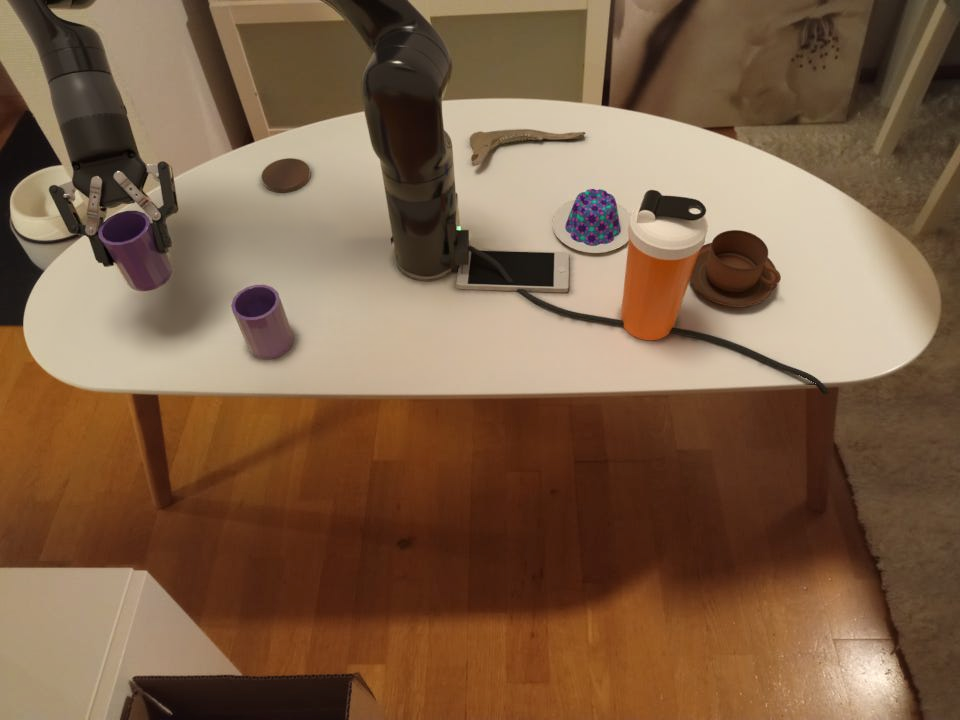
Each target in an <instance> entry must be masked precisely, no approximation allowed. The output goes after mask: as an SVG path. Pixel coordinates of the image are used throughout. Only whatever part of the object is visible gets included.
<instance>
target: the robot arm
mask: <svg viewBox="0 0 960 720" xmlns="http://www.w3.org/2000/svg"><path fill="white" fill-rule="evenodd" d="M6 1H7V3H8V4H9V6H10V8H11V10H13V12H14V14H15V15H16V17H17V18H18V19H19V21H20V23H21V24H22V26H23V28H24V29H25V31H26V33H27V35H28V36H29V38H30V40H31V42H32V43H33V46H34V48H35V50H36V52H37V55H38V58H39V61H40V63H41V67H42V71H43V73H44V76H45V79H46V82H47V83H46V84H47V86H48V90H49V94H50V100H51V104H52V108H53V109H52V110H53V112H54V115H55V119H56V121H57V124H58V127H59V131H60V134H61V137H62V140H63V143H64V146H65V149H66V152H67V156H68V158H69V162H70V165H71V167H72V177H71V181H68V182H65V183H62V184H60V185H57V184H52V185H49V187H48V192H49V194H50V197H51V198H52V200H53V203H54V204H55V206H56V209H57V211H58V212H59V215H60V217H61V219H62V221H63V223H64V226H65V227H66V229H67V231H68V232H69V234H72V235H78V236H85V237H86V238H87V239H88V240H89V243H90V247H91V249H92V253H93V255H94V259H95V260H96V262H97V264H102V266H103V267H105V268H109V267H114V266H115V264H114V262H113V260H112V259H111V257H110V255H109V254H108V252H107V250H106V249H105V247H104V245H103V244H102V242H101V240H100V239H99V233H98V231H99V229H100V227H101V225H102V223H103V222H105V221H106V220H105V219H107V214H108V209H109V210H110V209H114V208H117V207H119V206H121V205H131V204H137V205H138V206H139V207H140V208H141V209H142V210H143V211H144V213H145V214H146V215H147V216H148V217H149V218H150V220H151V226H152V229H153V233H154V236H155V239H156V242H157V246H158V249H159V252H160V253H161V254H165V253H167V254H169V253H170V250H169V248H172V247H173V246H172V245H173V241H172V238H171V234H170V231H169V228H168V224H167V219H168V218H169V217H171V216H172V215H174V214H175V215H176V214H177V213H178V212H179V203H178V196H177V191H176V184H175V177H174V170H173V167H172V165H170V164H169V163H168V162H166V161H163V160H161V161H159V162H158V163H150V164H146V162H144V160H143V158H141V155H140V152H139V149H138V145H137V142H136V139H135V136H134V133H133V130H132V126H131V123H130V120H129V117H128V110H127V107H126V105H125V103H124V100H123V97H122V95H121V91H120V90H119V88H118V86H117V84H116V81H115V78H114V76H113V73H112V70H111V66H110V63H109V60H108V56H107V54H106V53H107V52H106V49H105V47H104V44H103V43H104V42H103V41H102V38H101V36H100V34H99V32H98V31H96V29H95V28H93V27H91V26H88V25H86V24H82V23H79V22H73V21H69V20H66V19H64V18H62V17H59V16H58V15H56V14H55V12H54V11H81V10H82V11H83V10H87V9H89V8H90V7H92V6H93V5H94V4H95V3H96V2H97V0H6ZM319 1H321V2H322V3H324V4H325V5H327V6H328V7H330V8H331V9H333V11H335V12H336V13H337V14H338V15H339V16H340V17H341V18H342V19H343V20H344V21H345V22H346V23H347V24H348V25H349V26H350V28H351V29H352V30H353V31H354V33H355V34H356V35H357V36H358V37H359V39H360V40H361V41H362V42H363V44H364V45H365V47H366V48H367V49H368V51H369V52H370V54H371V56H370V58H369V61H368V62H367V65H366V67H365V69H364V71H363V72H362V73H363V74H362V76H361V81H360V88H361V89H360V93H361V103H362V108H363V112H364V117H365V121H366V122H365V123H366V127H367V131H368V135H369V140H370V144H371V147H372V150H373V152H374V154H375V156H377V158H378V159H379V164H380V168H381V169H380V170H381V174H382V181H383V187H384V193H385V200H386V204H387V212H388V218H389V223H390V230H391V237H390V245H391V246H393V247H394V257H395V263H396V266H397V268H398V269H399V271H400V272H401V273H402V274H403V275H405V276H407V277H408V278H410V279H413V280H417V281H425V282H426V281H436V280H440V279H442V278H445V277H447V276H448V275H451V274H452V273H453V274H454V273H458V269H459V265H468V262H469V251H470V252H472V253H474V254H476V255H477V256H479V257H481V258H483V259H485V260H486V261H488V262H489V263H491V264H492V265H493V266H495V267H496V268H497V269H498V271H499V272H500V273H501V275H502V276H503V278H504V279H505V280H506V281H509V282H512V281H513V280H512V279H511V278H510V277H509V275H508V274H507V272H506V271H505V269H504V268H503V267H502V266H501V265H500V264H499V263H498V262H497V261H496V260H495V259H493V258H492V257H490V256H489V255H487V254H485V253H483V252H482V251H480V250H478V248H476V247H474V246H472V245H470V232H469V229H461V225H460V223H461V222H460V209H459V195H458V193H457V192H456V191H457V190H456V178H455V163H454V151H453V142H452V139H451V136H450V135H449V133H448V132H447V131H446V130H445V127H444V118H443V117H444V116H443V100H444V97H445V95H446V92H447V89H448V87H449V84H450V81H451V77H452V74H453V58H452V56H451V52H450V51H451V50H450V49H449V47H448V45H447V43H446V41H445V40H444V38H443V37H442V36H441V35H440V33H439V32H438V31H437V29H436V28H435V27H434V26H433V25H432V24H431V23H430V21H428V20H427V19H426V17H425V16H424V15H423V14H422V13H421V12H420V11H419V10H418V9H417V8H416V7H415V6H414V5H413V4H412V3H411V1H409V0H319ZM149 174H150V175H152V177H153V179H154V181H156V182H158V183H159V185H160V191H161V197H162V198H161V199H162V204H163V205H161V206H160V207H158V206H157V204H156V203H155V202H154V201H153V200H152V198H151V197H150V196H149V195H148V194H147V193H146V192H145V191H144V187H145V184H146V182H147V179H148V177H149ZM76 191H78V192H80V193H81V194H82V195H84V196H85V197H86V198H88V202H87V208H86V216H87V217H86V222H85V224H84V223H83V221H82V220H81V217H80V215H79V212H78V211H77V209H76V207H75V205H74V202H75V200H76ZM516 292H517V293H519V294H520V295H521V296H522V297H524V298H526V299H527V300H529V301H531V302H532V303H534V304H535V305H538V306H540V307H543V308H545V309H547V310H550V311H551V312H555V313H557V314H561V315H563V316H567V317H570V318H574V319H575V318H576V319H581V320H585V321H592V322H598V323H604V324H609V325H615V326H622V327H623V326H624V323H623V320H621V319H618V318H611V317H605V316H599V315H595V314H588V313H581V312H576V311H572V310H568V309H565V308H562V307H560V306H556V305H554V304H552V303H549V302H546V301H545V300H543V299H541V298H538V297H536V296H534V295H533V294H532V293H529V291H525V290H523V289H517V291H516ZM670 333H671V334H676V335H682V336H687V337H692V338H697V339H701V340H706V341H709V342H712V343H715V344H719V345H722V346H725V347H728V348H730V349H733V350H736V351H739V352H740V353H743V354H745V355H748V356H749V357H752V358H755V359H756V360H758V361H761V362H763V363H766V364H767V365H770V366H772V367H774V368H776V369H779V370H781V371H784V372H786V373H790V374H793V375H795V376H797V377H801V376H802V377H801V378H803V379H805V378H807V379H808V380H807V379H806V380H807V381H809V380H810V381H809V382H811V381H812V382H811V383H812V384H813V385H815V386H816V388H818V390H819V391H820V392H821V393H822V394H823V395H829V394H830V390H829V389H828V388H827V387H826V385H825V384H824V383H823V382H822V381H821V380H819V379H818V378H817V377H815V376H814V375H812V374H810V373H808V372H806V371H803V370H801V369H798V368H795V367H792V366H790V365H787V364H784V363H781V362H779V361H777V360H774V359H773V358H770V357H768V356H766V355H764V354H761V353H759V352H757V351H755V350H753V349H751V348H748V347H747V346H746V347H745V346H744V345H741V344H738V343H735V342H733V341H731V340H727V339H724V338H721V337H718V336H714V335H711V334H709V333H708V334H707V333H704V332H700V331H696V330H695V331H694V330H690V329H685V328H680V327H675V326H674V327H672V329H671V330H670ZM799 375H800V376H799ZM813 382H814V383H813ZM821 382H822V383H821ZM815 383H816V384H815Z"/></svg>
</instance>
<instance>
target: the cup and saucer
mask: <svg viewBox="0 0 960 720" xmlns="http://www.w3.org/2000/svg"><path fill="white" fill-rule="evenodd" d="M781 278H782V276H781V272H779V270H777V268H776V265H775V264H774V262H773V261H772V260H771V259H770V258H769V248H768V246H767V244H766V243H765V241H764V240H763V239H761V238H760V237H759V236H757V235H755V234H754V233H751V232H749V231H745V230H740V229H732V230H731V229H730V230H725V231H722V232H720V233H718V234H717V235H716V236H715V237H714V238H713V239H712V241H711V242H708V243H706V244H704V245H703V247H702V248H701V249H700V250H699V253H698V256H697V259H696V262H695V265H694V268H693V271H692V274H691V277H690V280H689V283H690V284H691V285H692V286H693V288H694V289H695V290H696V291H697V293H699V294H701V296H703V297H704V298H706V299H708V300H710V301H712V302H714V303H717V304H720V305H723V306H728V307H748V306H754V305H757V304H759V303H761V302H763V301H765V300H766V299H768V298H769V297H770V296H772V294H773V293H774V291H775V290H776V288H777V286H778V285H779V283H780V282H781V280H782V279H781Z"/></svg>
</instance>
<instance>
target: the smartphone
mask: <svg viewBox="0 0 960 720" xmlns="http://www.w3.org/2000/svg"><path fill="white" fill-rule="evenodd" d="M477 249H478V248H477ZM478 250H480V251H482V252H483V253H485V254H487V255H489V256H490V257H492V258H493V259H495V260H496V261H497V262H498V263H499V264H500V265H501V266H502V267H503V268H504V269H505V271H506V272H507V274H508V275H509V277H510V278H511V279H512V280H513V281H512V282H509V281H506V280H505V279H504V278H503V276H502V275H501V273H500V272H499V271H498V269H497V268H496V267H495V266H493V265H492V264H491V263H489V262H488V261H486V260H485V259H483V258H481V257H479V256H477V255H476V254H474V253H472V252H470V251H469V262H468V265H459V269H458V272H457V276H456V288H457V289H459V290H478V291H507V292H518V291H517V289H523V290H525V291H527V292H533V293H534V292H536V293H560V294H561V293H562V294H563V293H568V292H569V265H570V264H569V263H570V262H569V260H570V259H569V258H570V253H569V252H567V251H546V250H545V251H542V250H514V249H513V250H510V249H478Z"/></svg>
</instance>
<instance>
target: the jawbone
mask: <svg viewBox="0 0 960 720" xmlns="http://www.w3.org/2000/svg"><path fill="white" fill-rule="evenodd" d="M586 134H587V132H585V131H581V132H579V131H578V132H573V131H572V132H565V133H552V132H547V131H543V130H542V131H541V130H536V129H527V128H524V129H523V128H521V129H519V128H518V129H506V130H505V129H504V130H502V129H501V130H492V131H486V132H485V131H475V132H474V133H472V134H471V135H470V137H469V143H470V146H471V148H472V150H473V151H472V155H471V157H470V160H471V163H472V167H476V166H479V165H480V164H482V163H483V162H484V161H485V160H486V158H487V157H488V155H489V153H490V152H491V151H492V150H493V149H495V148H496V147H497V146H499V145H502V144H509V143H512V142H514V143H515V142H520V141H521V142H522V141H526V140H528V141H529V140H531V141H536V140H537V141H543V140H555V141H556V140H576V139H581V138H584V137H585V135H586Z"/></svg>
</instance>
